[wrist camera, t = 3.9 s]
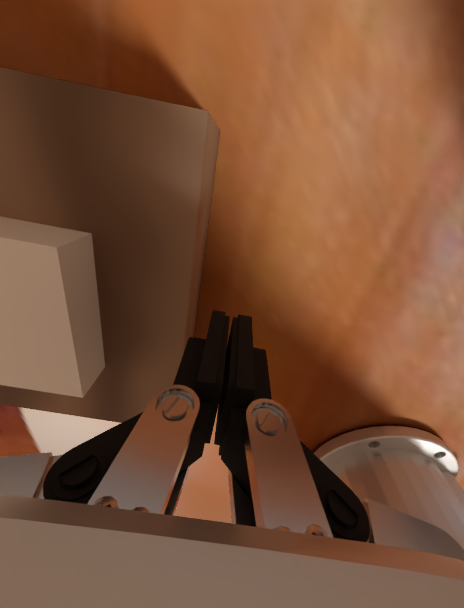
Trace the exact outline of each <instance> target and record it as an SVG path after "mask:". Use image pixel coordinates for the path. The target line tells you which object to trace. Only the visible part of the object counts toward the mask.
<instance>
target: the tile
mask: <svg viewBox="0 0 464 608" xmlns="http://www.w3.org/2000/svg"><path fill="white" fill-rule="evenodd" d="M104 368H105V360H104V350H103V340H102V330H101V320H100V310H99V301H98V291H97V281H96V271H95V261H94V251H93V241H92V233H87V232H81V231H76V230H71V229H65V228H60V227H54V226H49V225H44V224H38V223H33V222H27V221H22V220H17V219H11V218H6V217H0V385H4V386H11V387H17V388H23V389H30V390H36V391H42V392H49V393H55V394H62V395H68V396H74V397H81V398H83V397H84V396H85V394H86V393H87V391H88V390H89V389H90V387H91V386H92V385H93V383H94V382H95V380H96V379H97V378H98V376H99V375H100V373H101V372H102V371H103V369H104Z"/></svg>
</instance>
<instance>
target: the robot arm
mask: <svg viewBox="0 0 464 608" xmlns="http://www.w3.org/2000/svg"><path fill="white" fill-rule="evenodd" d="M229 318H230V316H225V312H221V311H215V310H213V312H212V316H211V321H210V325H209V330H208V334H207V338H206V340H205V339H200V338H194V337H189V339H188V341H187V344H186V347H185V350H184V353H183V356H182V359H181V362H180V365H179V368H178V371H177V374H176V377H175V380H174V383H173V385H169V386H166V387H163V388H162V389H160V390H159V391H157V392H156V393H155V395H154V396H153V397H152V399H151V400H150V402H149V404H148V405H147V407H146V409H145V410H144V412H142V413H140V414H138V415H136V416H134V417H132V418H130V419H128V420H126V421H124V422H123V423H121V424H119V425H117V426H115V427H113V428H111V429H109V430H107V431H105V432H103V433H101V434H100V435H98V436H96V437H94V438H92V439H90V440H88V441H86V442H84V443H82V444H80V445H78V446H77V447H75V448H73V449H71V450H70V451H68V452H66V453H65V454H63V455H60V456H53V455H52V453H41V454H29V455H18V456H7V457H0V608H464V491H463V490H462V488H461V487H460V485H459V484H458V482H457V481H456V479H455V478H456V476H457V473H458V462H457V459H456V457H455V456H454V454H453V453H452V451H451V450H450V449H449V447H448V446H447V445H446V444H445V443H444V442H443V441H442V440H441V439H440V438H439V437H437V436H435V435H433V434H431V433H429V432H426V431H423V430H420V429H416V428H410V427H404V426H377V427H369V428H364V429H358V430H355V431H351V432H348V433H345V434H342V435H340V436H338V437H336V438H334V439H331V440H330V441H328V442H326V443H325V444H323V445H322V446H320V447H319V448H318V449H317V450H316V451H315V452H314V453H313V452H311V451H310V450H309V449H308V448H307V447H306V446H305V445H304V444H303V443H302V442H301V441H300V440H299V437H298V434H297V431H296V429H295V426H294V423H293V420H292V418H291V416H290V414H289V412H288V411H287V410H286V409H285V407H283V406H282V405H281V404H279V403H278V402H276V401H273V400H272V399H271V391H270V382H269V374H268V365H267V357H266V351H265V350H264V349H258V348H253V335H252V317H250V316H244V315H239V316H238V318H236V317H233V321H232V326H231V331H230V335H229V340H228V345H227V338H228V328H229ZM226 348H227V350H226ZM218 404H219V405H218ZM217 408H218V414H217V423H216V432H215V442H214V444H216V445H220V447H219V455H221V459H222V461H223V462H224V463H225V465H226V466H227V467H228V481H229V494H230V507H231V519H232V524H231V523H223V522H215V521H209V520H201V519H194V518H186V517H179V516H174V513H175V510H176V507H177V504H178V501H179V498H180V495H181V492H182V489H183V486H184V483H185V480H186V477H187V474H188V471H189V467H190V465H191V464H192V463H194V462H195V461H196V460H197V459H199V458H200V457H201V456H202V454H203V449H204V444H205V443H210V440H211V435H212V431H213V426H214V422H215V417H216V413H217Z"/></svg>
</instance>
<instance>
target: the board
mask: <svg viewBox="0 0 464 608" xmlns="http://www.w3.org/2000/svg"><path fill="white" fill-rule="evenodd" d="M219 135H220V130H219V128H218V126H217V125H216V123H215V121H214V120H213V118H212V116H211V115H210V113H209V111H206V110H202V109H197V108H192V107H187V106H183V105H178V104H173V103H168V102H164V101H159V100H154V99H149V98H145V97H140V96H135V95H130V94H126V93H121V92H116V91H111V90H107V89H102V88H97V87H92V86H88V85H83V84H78V83H73V82H69V81H64V80H59V79H54V78H50V77H45V76H40V75H36V74H31V73H26V72H21V71H17V70H12V69H7V68H2V67H0V217H6V218H11V219H17V220H22V221H27V222H33V223H38V224H44V225H49V226H54V227H60V228H65V229H71V230H76V231H81V232H87V233H92V241H93V251H94V261H95V271H96V281H97V291H98V301H99V310H100V320H101V330H102V340H103V350H104V360H105V368H104V369H103V371H102V372H101V373H100V375H99V376H98V378H97V379H96V380H95V382H94V383H93V385H92V386H91V387H90V389H89V390H88V391H87V393H86V394H85V396H84V397H83V398H81V397H74V396H68V395H62V394H55V393H49V392H42V391H36V390H30V389H23V388H17V387H11V386H4V385H0V404H3V405H10V406H16V407H23V408H30V409H36V410H43V411H49V412H55V413H62V414H69V415H75V416H82V417H89V418H95V419H101V420H107V421H115V422H121V423H123V422H124V421H126V420H128V419H130V418H132V417H134V416H136V415H138V414H140V413H142V412H144V410H145V409H146V407H147V405H148V404H149V402H150V400H151V399H152V397H153V396H154V395H155V393H156V392H157V391H159V390H160V389H162V388H163V387H166V386H169V385H173V383H174V380H175V377H176V374H177V371H178V368H179V365H180V362H181V359H182V356H183V353H184V350H185V347H186V344H187V341H188V339H189V337H194V335H195V327H196V319H197V311H198V303H199V295H200V287H201V279H202V271H203V263H204V255H205V247H206V239H207V231H208V223H209V215H210V207H211V199H212V191H213V183H214V175H215V167H216V159H217V151H218V143H219Z"/></svg>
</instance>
